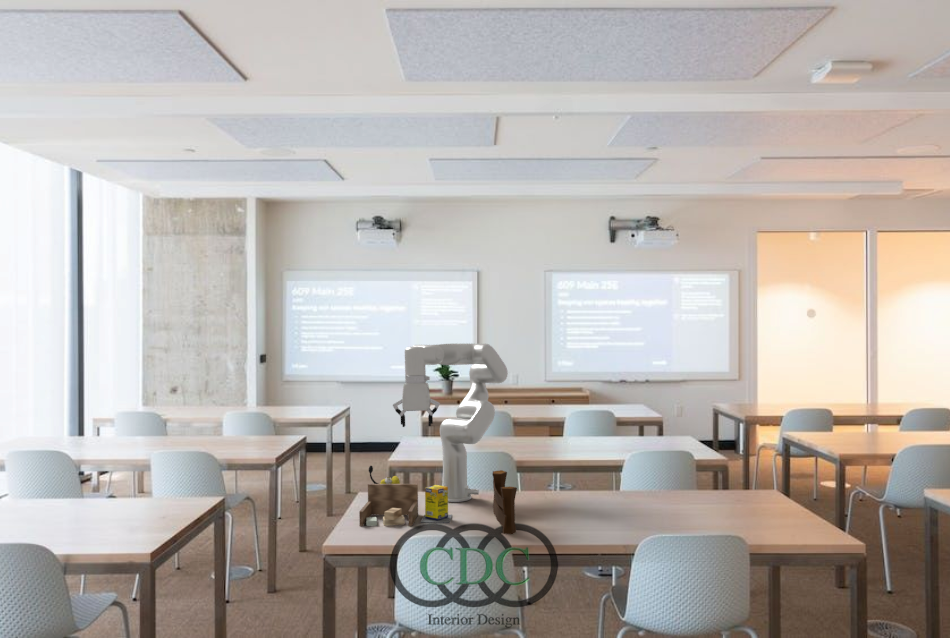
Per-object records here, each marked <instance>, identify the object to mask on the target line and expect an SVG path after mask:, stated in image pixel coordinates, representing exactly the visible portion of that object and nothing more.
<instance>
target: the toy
mask: <svg viewBox="0 0 950 638" xmlns="http://www.w3.org/2000/svg"><path fill="white" fill-rule="evenodd" d="M373 471H374V467H373V465H369V466H368V473H369V478H370V479H371V481H372V484H401V482H400V481H401V480H400V478H399V477H398V476H397V475H394V476H392V477H391V476H387V477H385V478H383V479H381V480H380V483H379V482H377V481H375V480H374V478H373V476H372V473H373Z"/></svg>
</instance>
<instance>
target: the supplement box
mask: <svg viewBox="0 0 950 638" xmlns="http://www.w3.org/2000/svg"><path fill="white" fill-rule="evenodd" d="M424 504H425V505H424V511H425V513H424V515H425V518H426V519H431V520H436V521H438V520H441V519H444V518H448V515H449V502H448V487H446V486H443V485H441V484H440V485H439V484H434V485H432V486H425V487H424Z"/></svg>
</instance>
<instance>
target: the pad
mask: <svg viewBox="0 0 950 638" xmlns="http://www.w3.org/2000/svg"><path fill="white" fill-rule="evenodd" d="M452 518H453V514H448V518H444V519H441V520H438V521H436V520H431V519H426V518H425V514H424V515H423V516H422V519H421V521H420V524H450V523H451V521H452Z"/></svg>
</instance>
